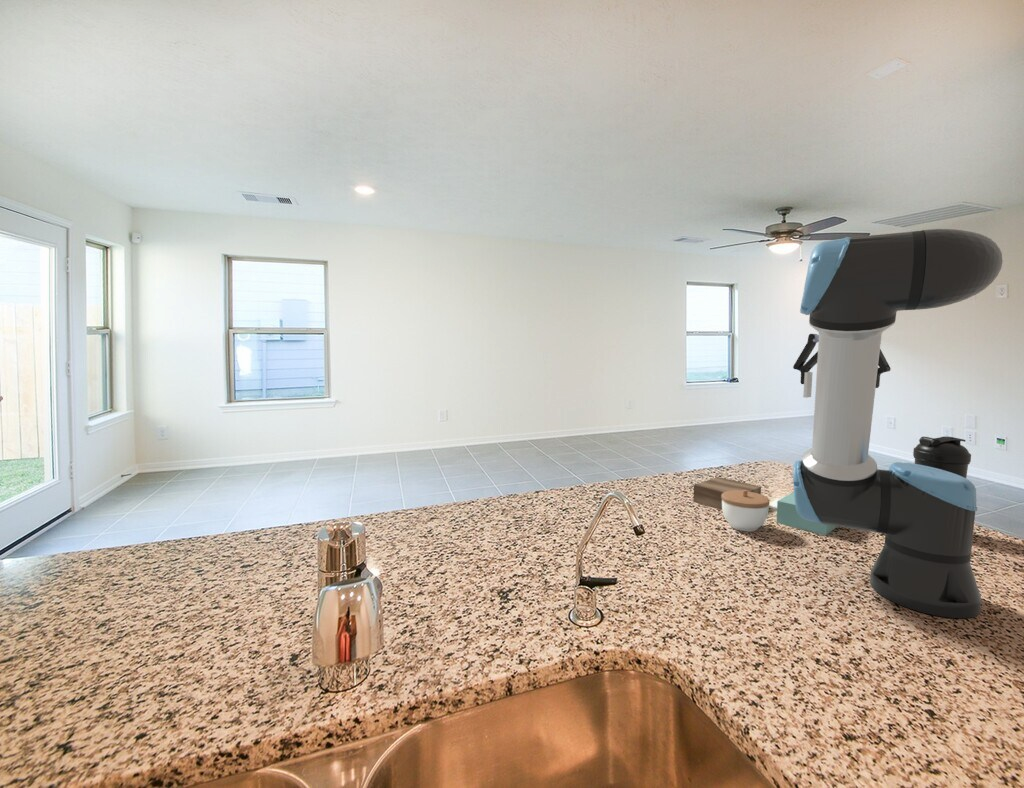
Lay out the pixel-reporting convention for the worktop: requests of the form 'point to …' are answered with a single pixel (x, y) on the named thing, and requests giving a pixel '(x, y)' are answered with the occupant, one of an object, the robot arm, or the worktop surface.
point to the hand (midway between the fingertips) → (836, 399)
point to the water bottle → (943, 454)
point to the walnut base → (719, 490)
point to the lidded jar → (744, 509)
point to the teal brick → (798, 517)
